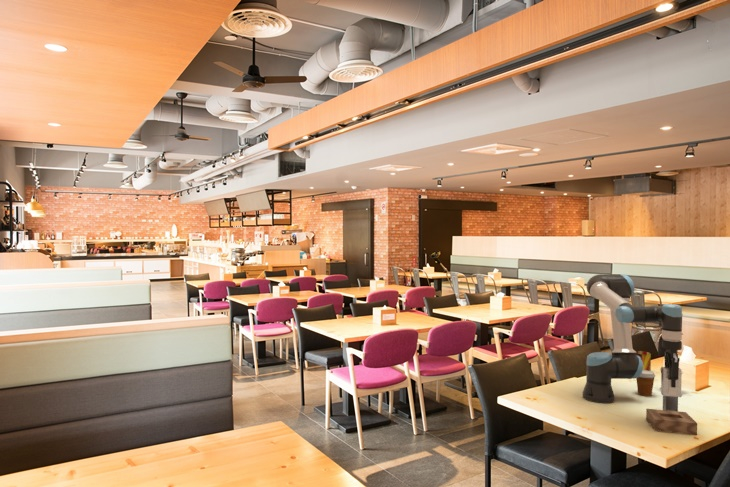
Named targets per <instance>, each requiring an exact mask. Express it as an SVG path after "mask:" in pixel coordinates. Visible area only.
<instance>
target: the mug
mask: <svg viewBox="0 0 730 487" xmlns="http://www.w3.org/2000/svg"><path fill="white" fill-rule="evenodd" d="M635 351H636V354H637V356H639V357H640V358H641V360H642V362H643V370H647V371H651V370H652V368H651V367H652V366H651V364H652V362H651V361H652V360H651V359H652V358H651V357H652V356H651V355H652V353H650V352H648V351H644V350H643V351H642V350H635Z"/></svg>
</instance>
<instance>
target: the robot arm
mask: <svg viewBox="0 0 730 487" xmlns="http://www.w3.org/2000/svg"><path fill="white" fill-rule="evenodd" d="M586 290H587V293H588V295H589V296H591V297H592V298H593V299H596V300H599V301H600V302H601V303H603V304H604V305H605V306H606V307H608V308H609V309H610V319H611V328H612V338H613V340H612V341H613V350H611V353H610V352H608V351H607V352H605V351H595V352H591V353H589V354H587V356H586V362H585V364H586V374H585V375H586V377H585V378H586V382H585V385H584V387H583V391H582V398H584V400H587V401H590V402H594V403H597V404H599V403H601V404H610V403H611V404H612V403H614V402H615V400H616V396H615V395H616V394H615V393H614V390H613V387H612V380H613V379H614V380H615V379H618V380H619V379H620V380H623V379H625V380H631V379H633V380H634V379H636V378H638V377H639V376H640V375H641V373H642V370H643V362H642V360H641V358H640V357H639V356H637V354H636V351H637V350H635V349H633V340H632V331H631V324H632V323H633V324H634V323H635V324H637V323H639V324H641V323H642V324H643V323H644V324H648V323H649V324H651V323H652V324H656V323H657V324H660V325H661V338H662V340H661V348H662V349H665V351H663V354H664V355H663V356H664V367H669V369H670V378H668V380H669V394H672V395H676V380H678V375H679V368H680V361H681V360H680V357H679V354H678V351H681V350H683V348H682V347H683V346H682V345H683V342H682V340H683V335H684V333H683V308H682V306H681V305H679V304H672V303H664V304H663V305H662V306H659V305H654V304H651V305H647V306H645V305H642V306H640V305H633V304H631V303H630V302H629V301H630V300H631V297H632V296H633V295H634V294H635V283H634V281H633V279H632V278H631V277H630V276H629V275H626V274H618V273H617V274H596V275H593V276H592V277H590V278H589V279H588V281H587V282H586Z"/></svg>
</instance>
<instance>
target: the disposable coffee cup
mask: <svg viewBox="0 0 730 487" xmlns="http://www.w3.org/2000/svg"><path fill="white" fill-rule="evenodd" d="M655 377H656V374H655V372H654V371H647V370H642V373H641V375H640V376H639V377H638V378H635V379H636V387H637V393H638V395H640V396H643V397H652V396H653V394H652V393H653V388H654V383H655Z"/></svg>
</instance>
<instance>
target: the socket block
mask: <svg viewBox="0 0 730 487" xmlns="http://www.w3.org/2000/svg"><path fill="white" fill-rule="evenodd" d="M645 420H646V421H647V423H648V424H649V425H650V427H651V428H652V429H653V431H655V432H665V433H674V434H681V435H682V434H683V435H693V436H697V435H698V423H697V422H696V420H695V419H694V418H693V417H692V416H690V415H689V413H688V412H686V411H679V410H678V411H668V410H663V409H657V408H655V409H654V408H646V410H645Z"/></svg>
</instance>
